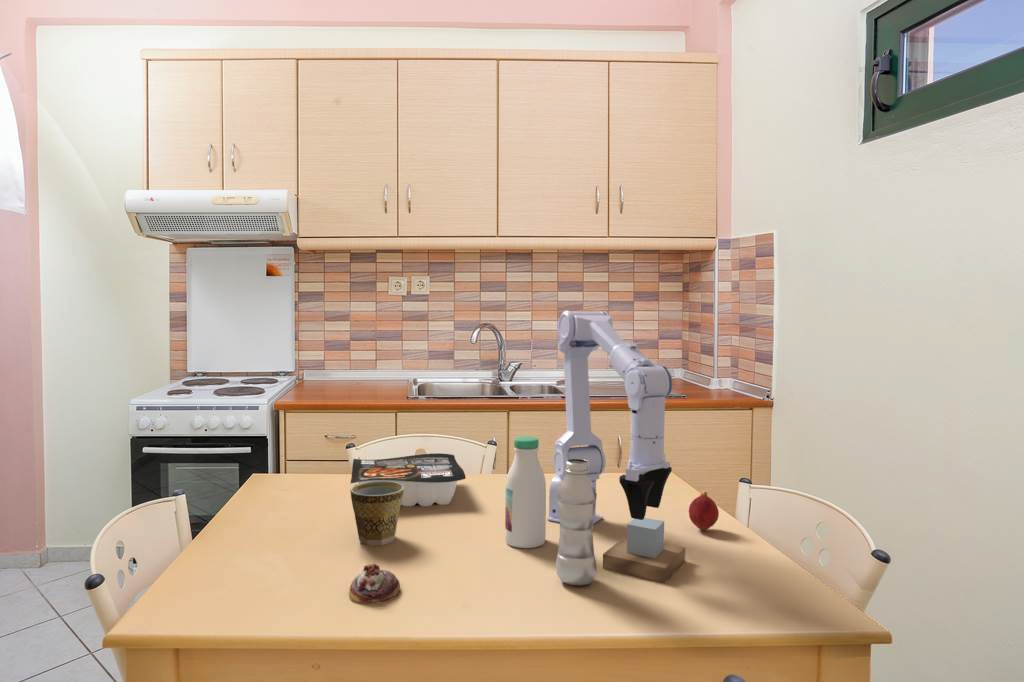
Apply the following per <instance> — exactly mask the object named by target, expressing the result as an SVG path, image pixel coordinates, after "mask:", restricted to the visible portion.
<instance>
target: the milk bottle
mask: <svg viewBox="0 0 1024 682" xmlns="http://www.w3.org/2000/svg"><path fill="white" fill-rule="evenodd" d="M513 445H514V449H513V450H514V451H515V454H514V458H513V462H512V464H511V466H510V467H509V468H510V469H509V470H508V473H507V476H506V480H505V481H506V483H505V509H504V511H505V515H504V516H505V521H504V527H505V528H504V534H505V535H504V536H505V537H504V540H505V542H506V543H507V544H508V545H509V546H511V547H514V548H519V549H534V548H538V547H541V546H543V545H544V544H545V542H546V529H547V528H546V527H547V521H546V520H547V503H546V502H547V487H546V486H547V483H546V477H545V473H544V470H543V469H542V465H541V463H540V460H539V457H538V451H539V438H537V437H534V436H518V437H515V438H514V441H513Z"/></svg>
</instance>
